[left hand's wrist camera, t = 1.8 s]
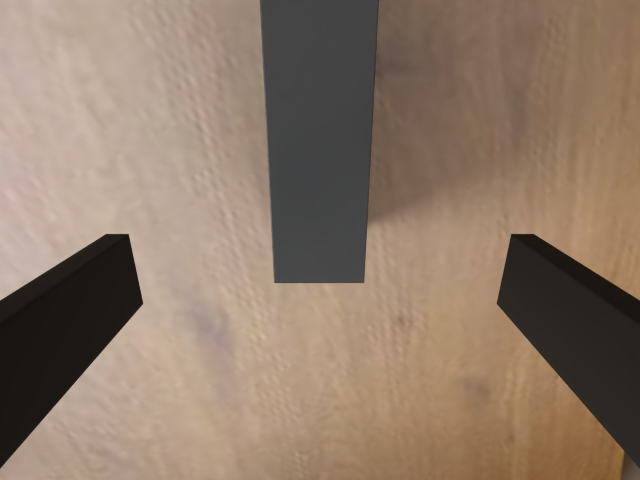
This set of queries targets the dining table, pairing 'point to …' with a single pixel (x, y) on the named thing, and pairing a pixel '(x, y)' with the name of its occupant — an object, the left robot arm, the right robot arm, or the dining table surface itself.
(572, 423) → the dining table surface
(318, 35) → the bar
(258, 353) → the dining table surface
